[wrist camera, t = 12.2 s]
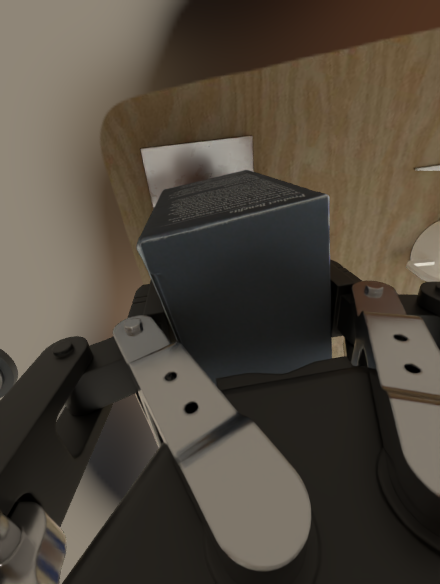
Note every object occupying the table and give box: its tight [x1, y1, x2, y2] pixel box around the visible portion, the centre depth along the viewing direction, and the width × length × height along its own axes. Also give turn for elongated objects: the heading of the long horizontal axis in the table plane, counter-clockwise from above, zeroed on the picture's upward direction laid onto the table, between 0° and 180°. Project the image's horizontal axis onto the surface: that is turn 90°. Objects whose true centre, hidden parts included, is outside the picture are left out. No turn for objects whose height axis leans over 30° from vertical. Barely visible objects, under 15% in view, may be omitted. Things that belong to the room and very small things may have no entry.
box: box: [137, 170, 332, 386], centre depth 14 cm, size 8×6×11 cm
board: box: [140, 135, 254, 209], centre depth 29 cm, size 11×11×2 cm
